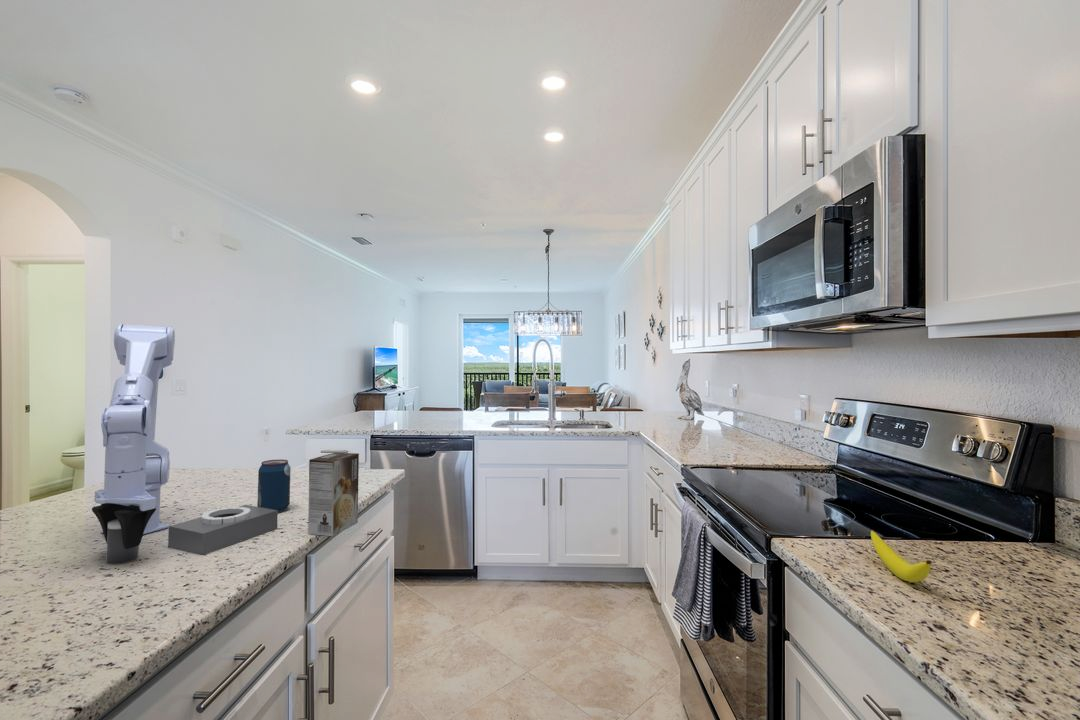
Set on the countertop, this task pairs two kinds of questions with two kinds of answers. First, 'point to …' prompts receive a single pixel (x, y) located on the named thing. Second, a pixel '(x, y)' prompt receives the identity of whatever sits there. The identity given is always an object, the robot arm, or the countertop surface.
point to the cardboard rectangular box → (333, 493)
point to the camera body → (221, 528)
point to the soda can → (274, 485)
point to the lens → (118, 545)
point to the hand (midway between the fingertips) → (123, 544)
